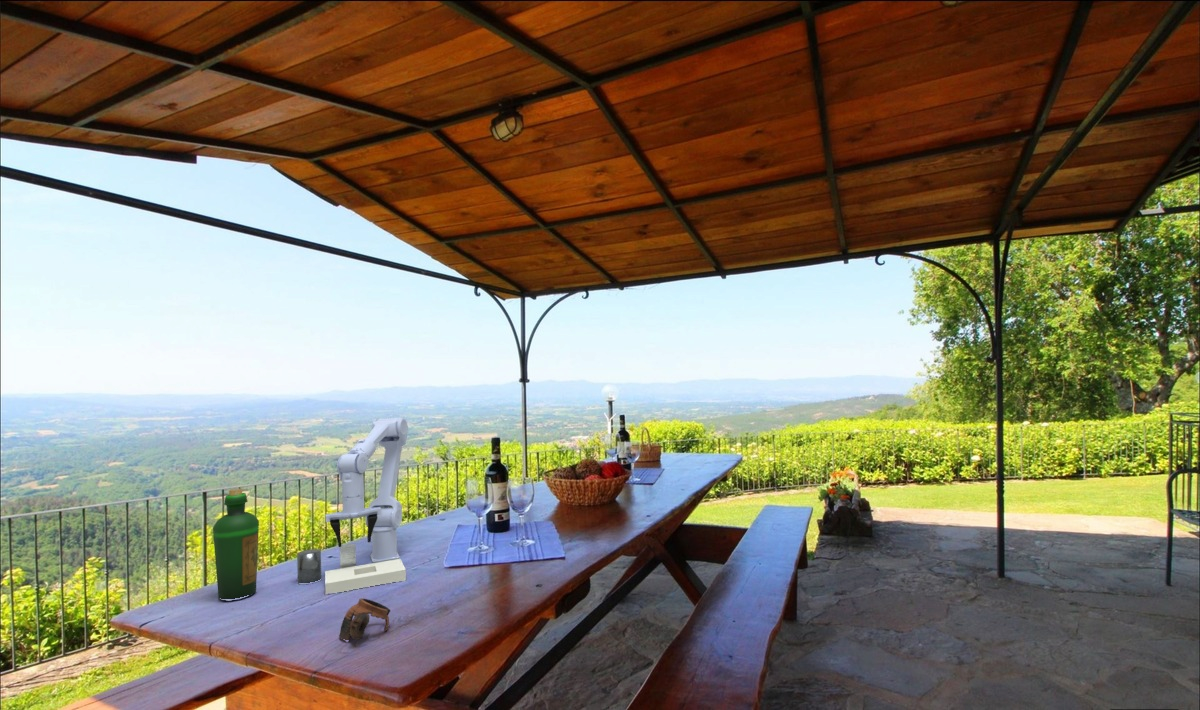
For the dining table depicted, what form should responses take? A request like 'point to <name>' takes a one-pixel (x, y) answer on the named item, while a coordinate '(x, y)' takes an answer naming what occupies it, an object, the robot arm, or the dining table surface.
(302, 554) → the round dark peg
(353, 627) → the brown curved piece
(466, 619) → the dining table surface
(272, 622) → the dining table surface
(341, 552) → the square steel peg
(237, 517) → the bottle
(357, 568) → the cream socket block
